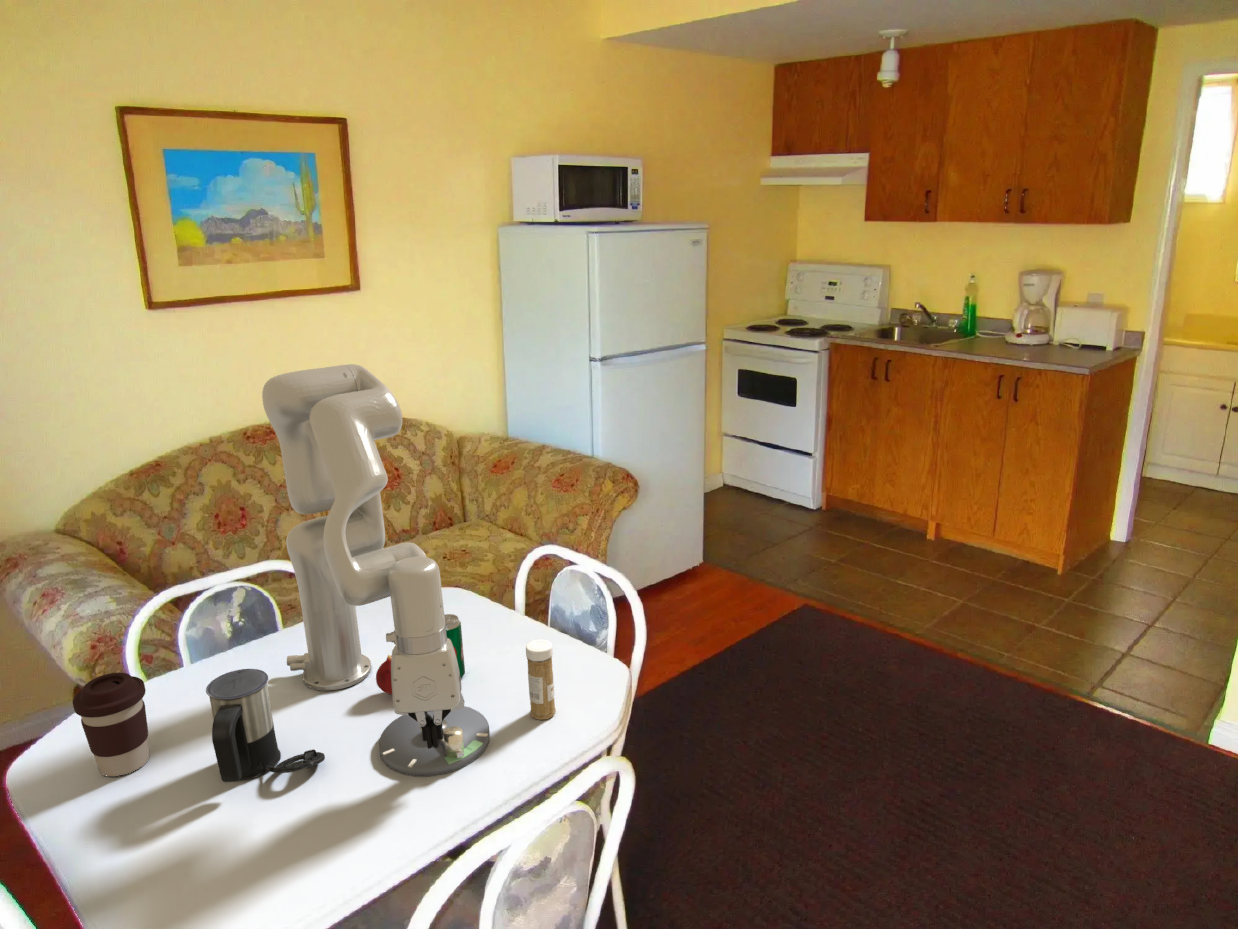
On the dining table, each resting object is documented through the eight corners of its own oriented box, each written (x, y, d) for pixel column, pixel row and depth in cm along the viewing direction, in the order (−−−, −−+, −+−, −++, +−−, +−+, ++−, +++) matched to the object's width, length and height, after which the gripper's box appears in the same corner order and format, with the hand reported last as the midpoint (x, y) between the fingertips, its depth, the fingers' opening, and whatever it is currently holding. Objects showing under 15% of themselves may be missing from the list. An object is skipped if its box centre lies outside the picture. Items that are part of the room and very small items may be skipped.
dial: (371, 781, 135) (370, 772, 134) (388, 716, 152) (387, 707, 151) (487, 771, 136) (486, 762, 136) (491, 708, 154) (491, 699, 153)
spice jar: (560, 715, 151) (557, 646, 147) (537, 724, 148) (533, 654, 145) (547, 703, 155) (544, 636, 151) (525, 711, 152) (520, 643, 148)
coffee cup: (88, 791, 134) (67, 707, 130) (91, 757, 143) (72, 677, 138) (159, 771, 138) (141, 689, 134) (158, 739, 147) (142, 661, 143)
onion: (417, 690, 160) (413, 651, 158) (397, 706, 155) (392, 666, 153) (392, 683, 162) (387, 645, 160) (371, 699, 157) (366, 660, 155)
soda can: (469, 677, 164) (464, 620, 160) (444, 686, 161) (439, 628, 157) (458, 666, 168) (453, 610, 164) (434, 674, 165) (428, 618, 161)
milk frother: (220, 754, 142) (206, 675, 138) (320, 731, 148) (309, 653, 144) (218, 807, 130) (202, 721, 126) (328, 779, 136) (316, 696, 131)
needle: (416, 731, 144) (414, 712, 143) (440, 721, 147) (438, 702, 145) (448, 762, 136) (446, 743, 134) (473, 751, 138) (471, 732, 137)
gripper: (366, 653, 127) (381, 762, 132) (468, 645, 128) (480, 753, 133) (376, 630, 135) (390, 734, 139) (472, 623, 136) (483, 726, 140)
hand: (434, 743), depth 136 cm, fingers closed
